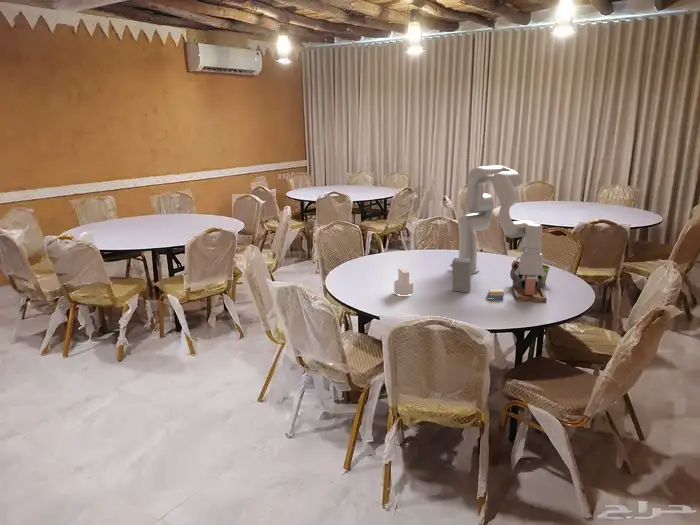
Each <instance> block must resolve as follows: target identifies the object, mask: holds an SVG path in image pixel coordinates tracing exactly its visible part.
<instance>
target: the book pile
mask: <svg viewBox="0 0 700 525" xmlns="http://www.w3.org/2000/svg"><path fill="white" fill-rule="evenodd" d="M504 296H505V290H503V288H502V289H501V288H500V289H498V288H497V289H496V288H493V289H492V288H490V289H488V291H487V293H486V298H492V299H491V300H494V299H503V300H504ZM493 298H494V299H493Z"/></svg>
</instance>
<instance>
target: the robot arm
mask: <svg viewBox="0 0 700 525" xmlns="http://www.w3.org/2000/svg"><path fill="white" fill-rule="evenodd" d="M521 183H522V177H521V175H520V173H519V172H517V171H516V170H514V169H511V168H508V167H506V166H503V165H486V166H476V167H473V168H472V169H471V170H470V171H469V172H468V177H467V189H466V195H465V201H464V205H463V206H464V210H465V212H467V213H468V214H467V213H466V214H463V215H461V216H460V217H459V218H458V220H457V226H458V234H459V235H458V236H459V237H458V238H459V241H458V258H471V275H474V274H478V273H479V272H480V269H479V267H477V262H478V260H477V259H478V257H477V256H478V237H477V235H476V233H475V232H477V231H485V230H487V229H488V228H489V226H490V224H491V220H492V216H493V212H494V208H495V201H494V198H493V196H492V195H491V194H489V193H485V185H484V184H492V187H493V189H494V192H495V194H496V196H497V199H498V201H499V203H500V208H499V212H498V222H499V225H500V228H501V229H502V232H503V234H504V235H505V236H506V237H508V238H510V239H514V238H521V237H523V245H522V247H519V251H522V252H521V253H520V256H519V257H520V258H519V267H518V268H517V270H516V271H515V272H514V273H515V275H517V276H519V278H520V279H521V280H522V287H523V289H525V276H526V275H534V276H535V278H536V282H535V288H536V287H537V281H538V280H539V279H540V278H542V277H543V276H545V275H546V273H545V272H544V270H543V265H544V264H543V263H544V260H543V259H544V257H543V253H541V250H542V239H543V225H542V224H541V223H536V222H533V221H530V220H527V219H524V220H523V219H522V220H514V221H513V220H512V218H511V215H510V208H511V207H513V206H514V205H516V204H517V203H518V202H519V200H520V199H519V198H520V197H519V196H518V194H517V191H516V189H517V188H519V187H520V186H521ZM449 265H450V267H452V262H451V263H450V264H449ZM518 272H519V273H520V274H519V273H518Z"/></svg>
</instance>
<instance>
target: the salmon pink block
mask: <svg viewBox="0 0 700 525" xmlns="http://www.w3.org/2000/svg"><path fill="white" fill-rule="evenodd" d="M535 282H536V278H535V276H534V275H526V276H525V289H524V292H525V295H535Z"/></svg>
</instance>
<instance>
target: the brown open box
mask: <svg viewBox="0 0 700 525" xmlns="http://www.w3.org/2000/svg"><path fill="white" fill-rule="evenodd" d="M514 272H515V271H514ZM514 272H513V280H512V289H511V290H512V292H513V296H515V297H514V300H515V301H516V300H517V301H516V302H527V301H533V302H532V303H547V302H548V300H547V299H548V298H547V296H546V293H545V291H544V289H543V285H542V278H540V279H539V280H538V281H537V287H536V288H535V295H525V292H524V289H523V287H522V280H521V279H520V278H519V276H517V275H515V273H514ZM518 273H519V272H518ZM519 274H520V273H519Z"/></svg>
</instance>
